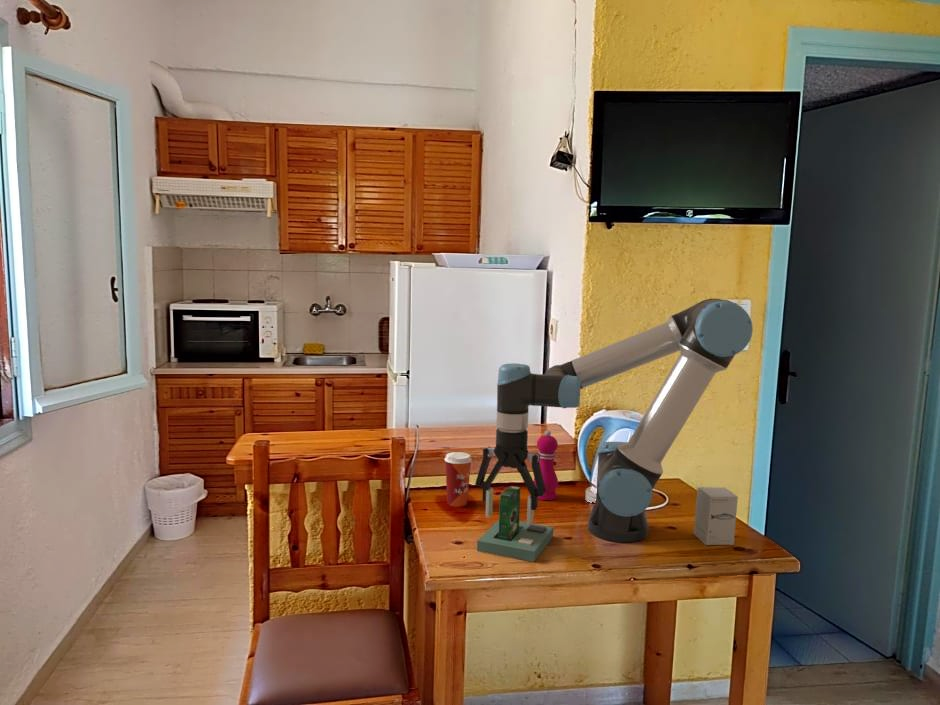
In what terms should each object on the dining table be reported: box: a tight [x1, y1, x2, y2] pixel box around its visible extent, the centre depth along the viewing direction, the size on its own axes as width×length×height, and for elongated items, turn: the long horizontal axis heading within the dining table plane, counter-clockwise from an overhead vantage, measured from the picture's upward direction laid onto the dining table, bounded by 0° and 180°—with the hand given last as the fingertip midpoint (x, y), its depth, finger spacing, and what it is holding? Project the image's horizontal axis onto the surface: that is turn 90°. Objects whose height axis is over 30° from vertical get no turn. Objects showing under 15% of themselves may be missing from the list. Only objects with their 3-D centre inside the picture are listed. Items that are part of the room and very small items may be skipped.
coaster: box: [584, 486, 596, 503], centre depth 193 cm, size 10×10×4 cm
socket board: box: [476, 519, 554, 563], centre depth 162 cm, size 14×16×3 cm
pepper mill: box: [533, 430, 559, 501], centre depth 194 cm, size 7×7×20 cm
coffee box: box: [498, 485, 521, 541], centre depth 162 cm, size 8×3×13 cm, turn 157°
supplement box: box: [693, 486, 739, 546], centre depth 166 cm, size 7×7×13 cm
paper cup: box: [444, 451, 473, 508], centre depth 188 cm, size 8×8×14 cm
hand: (509, 518), depth 162 cm, fingers open, 10 cm apart
